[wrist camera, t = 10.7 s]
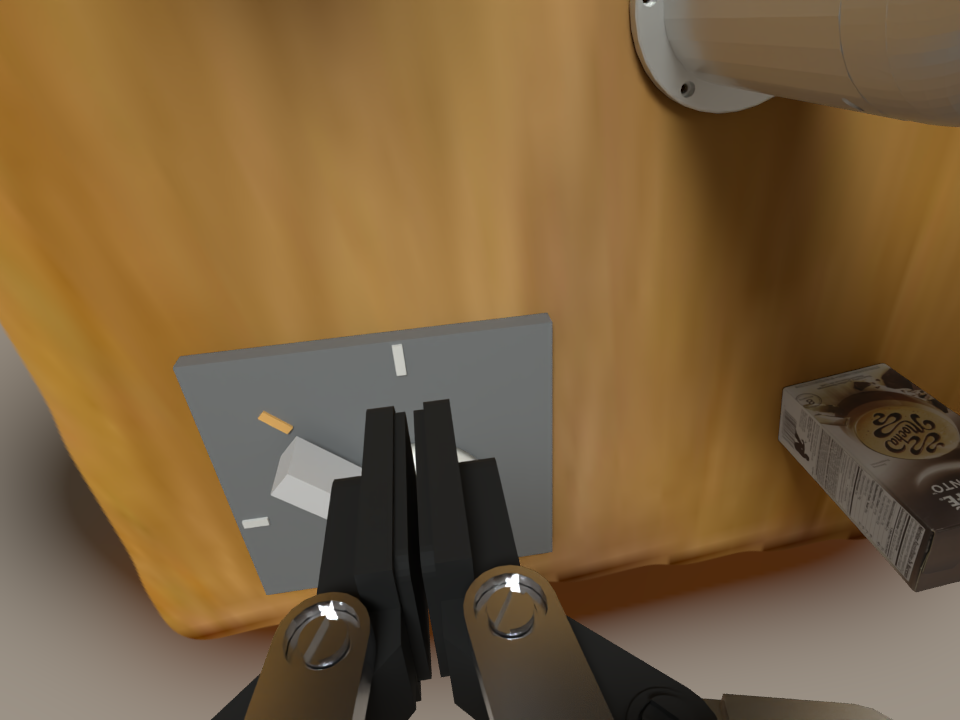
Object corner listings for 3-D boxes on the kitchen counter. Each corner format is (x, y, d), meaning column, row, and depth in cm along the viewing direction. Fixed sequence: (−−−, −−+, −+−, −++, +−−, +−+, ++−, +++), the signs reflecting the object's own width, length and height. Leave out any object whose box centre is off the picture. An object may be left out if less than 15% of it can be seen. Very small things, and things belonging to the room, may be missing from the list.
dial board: (547, 312, 41) (553, 323, 40) (548, 539, 54) (552, 553, 52) (180, 356, 39) (171, 369, 38) (269, 580, 52) (266, 597, 50)
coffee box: (885, 359, 48) (1085, 495, 34) (873, 418, 51) (1050, 563, 37) (780, 385, 48) (937, 533, 34) (775, 442, 51) (916, 597, 37)
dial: (523, 482, 47) (536, 530, 43) (436, 566, 51) (440, 618, 47) (335, 379, 40) (327, 424, 35) (250, 486, 44) (234, 539, 39)
